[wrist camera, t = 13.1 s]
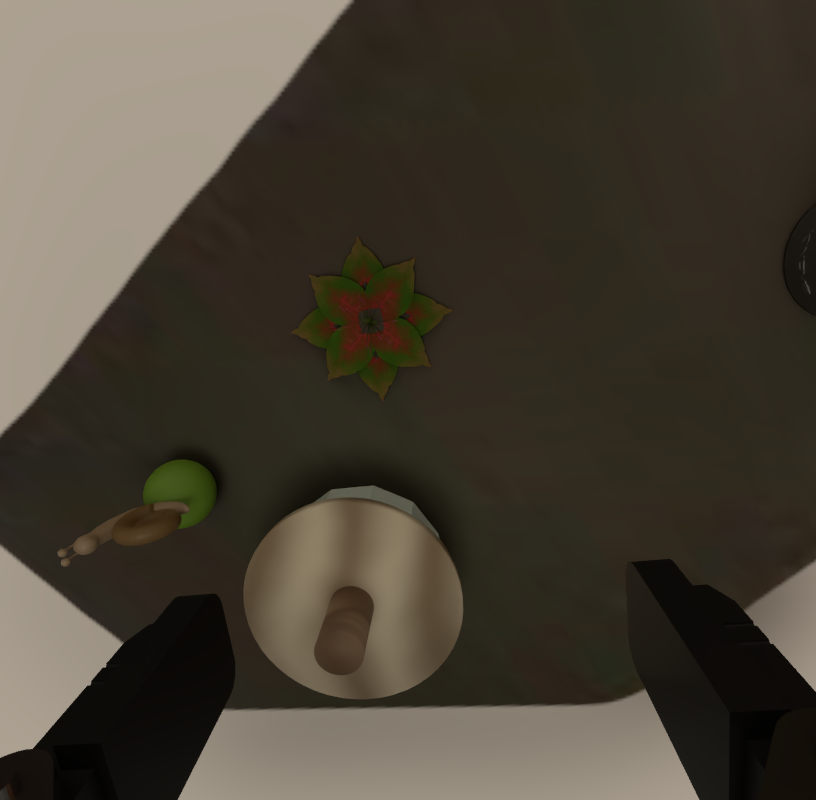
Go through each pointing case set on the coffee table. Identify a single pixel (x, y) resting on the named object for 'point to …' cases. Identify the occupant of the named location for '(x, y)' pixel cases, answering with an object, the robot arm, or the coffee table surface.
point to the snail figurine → (157, 509)
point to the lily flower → (384, 292)
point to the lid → (354, 598)
